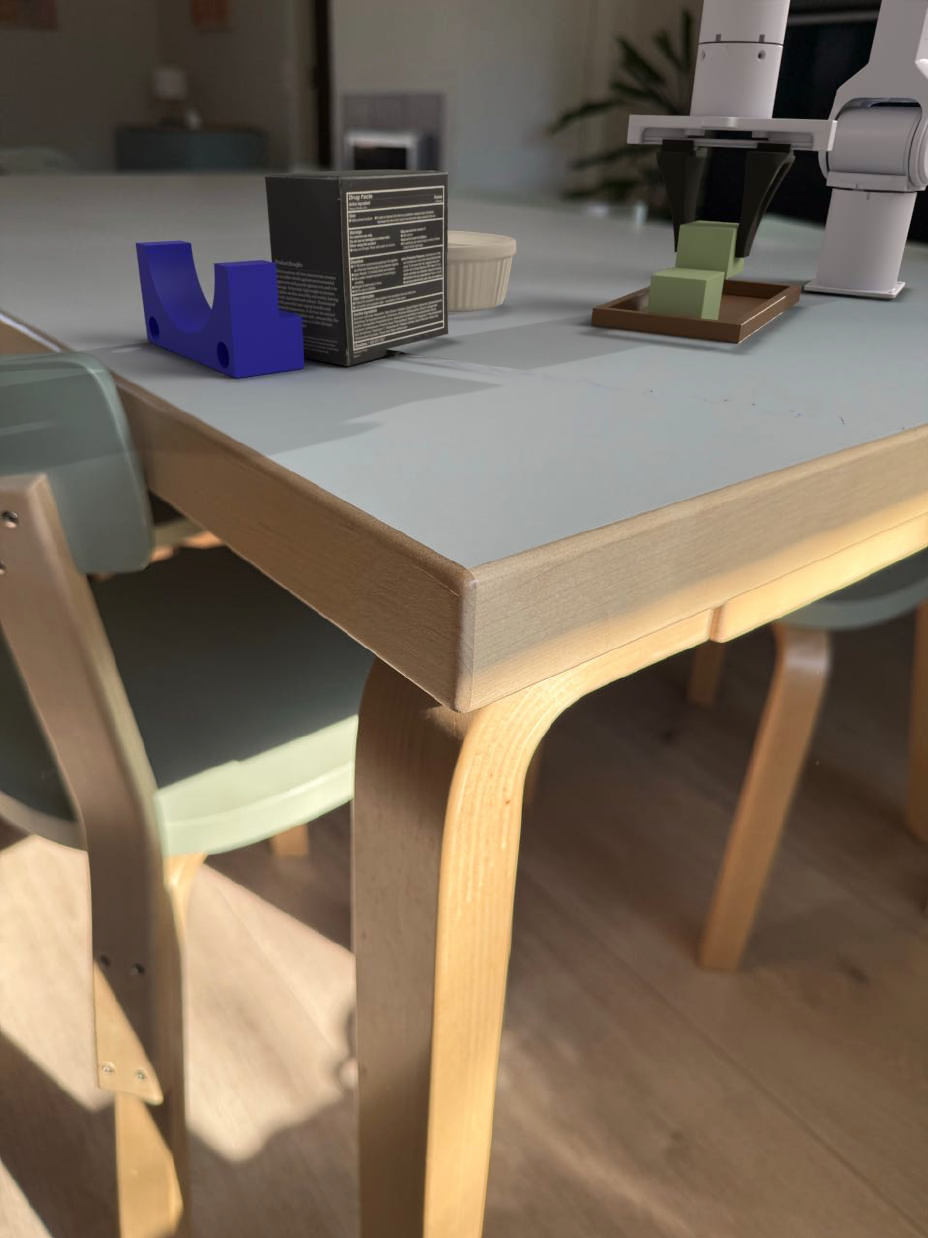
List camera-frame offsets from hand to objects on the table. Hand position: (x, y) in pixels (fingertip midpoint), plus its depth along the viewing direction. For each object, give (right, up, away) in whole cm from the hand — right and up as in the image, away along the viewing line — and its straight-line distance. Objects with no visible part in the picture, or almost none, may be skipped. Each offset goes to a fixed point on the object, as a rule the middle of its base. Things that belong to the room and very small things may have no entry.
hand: (711, 253), depth 72 cm
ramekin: (-21, -3, +4) cm, 21 cm away
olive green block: (0, -1, +1) cm, 1 cm away
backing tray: (0, -4, +3) cm, 5 cm away
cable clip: (-34, -11, -13) cm, 38 cm away
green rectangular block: (-3, -6, -3) cm, 7 cm away
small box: (-25, -10, -10) cm, 29 cm away
